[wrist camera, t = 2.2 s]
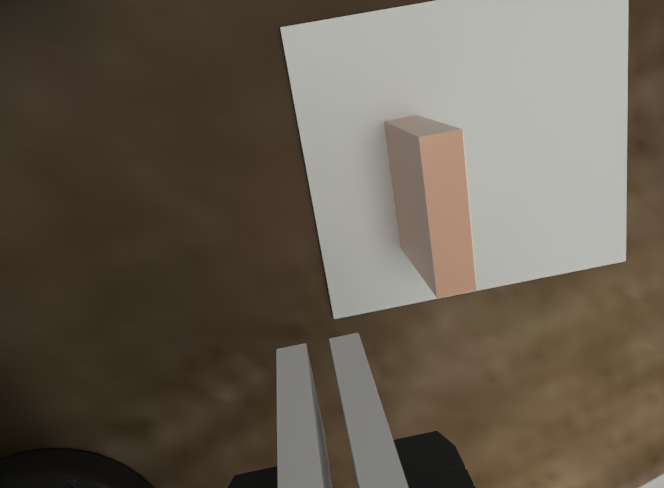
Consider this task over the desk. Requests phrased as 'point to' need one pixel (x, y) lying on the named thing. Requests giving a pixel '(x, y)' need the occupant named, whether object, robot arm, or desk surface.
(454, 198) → the tile
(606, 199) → the mat
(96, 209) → the desk surface
